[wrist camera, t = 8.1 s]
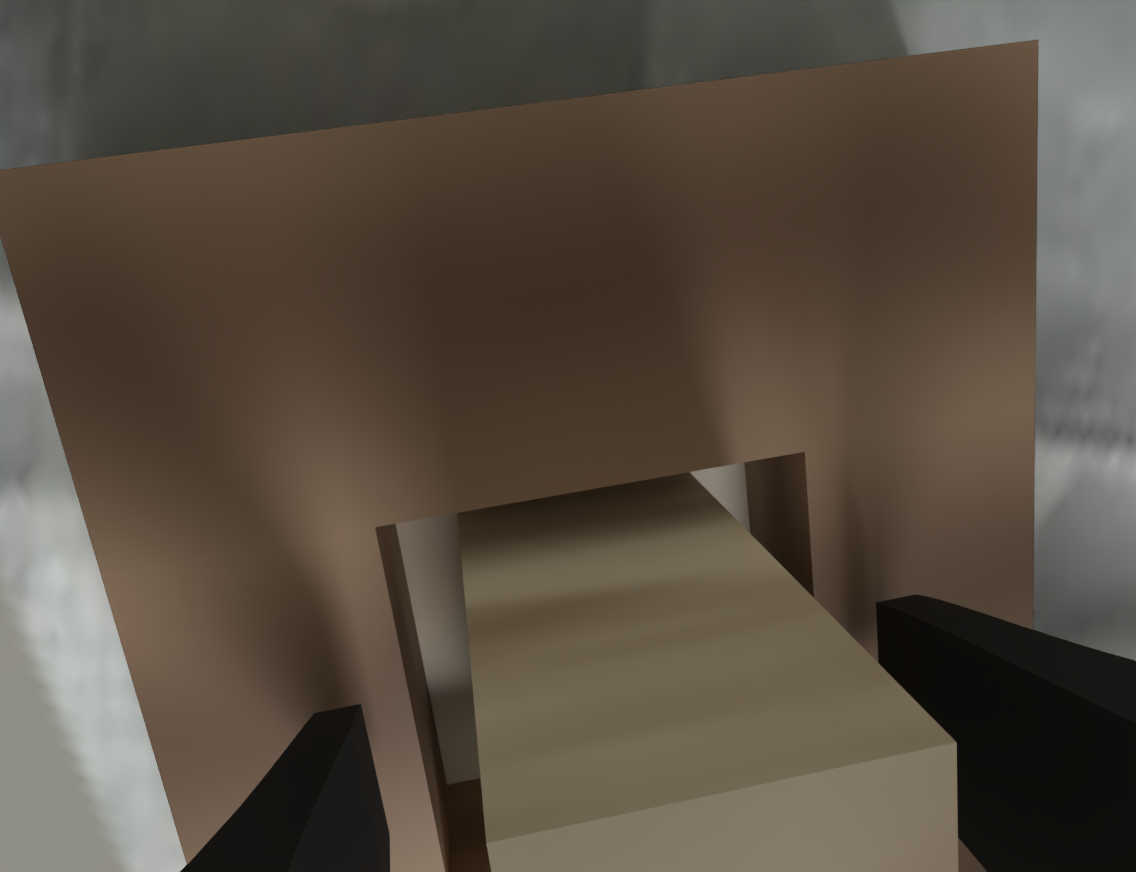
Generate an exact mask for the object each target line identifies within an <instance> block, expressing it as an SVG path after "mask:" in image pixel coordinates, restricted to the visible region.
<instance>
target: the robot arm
mask: <svg viewBox="0 0 1136 872" xmlns="http://www.w3.org/2000/svg"><path fill="white" fill-rule="evenodd" d="M876 619H877V642H878V663H879V664H880V665H881V666H882V667H883V668H884V669H885V670H886V671H887V672H888V673H889V674H890V675H891V676H892V677H893V678H894V680H895V681H896V682H897V683H898V684H899V685H900V686H901V687H902V688H903V689H904V690H905V691H906V692H907V693H908V694H909V695H910V696H911V697H912V698H913V699H914V700H915V701H916V702H917V703H918V704H919V705H920V706H921V707H922V708H923V709H924V710H925V711H926V712H927V713H928V714H929V715H930V716H931V717H932V718H933V719H934V720H935V721H936V722H937V723H938V724H939V725H940V726H941V727H942V728H943V729H944V730H945V731H946V732H947V733H948V734H949V735H950V736H951V737H952V738H953V739H954V740H955V741H956V742H957V809H958V838H959V839H960V840H961V841H962V843H963V844H964V845H965V846H966V847H967V848H968V850H969V851H970V852H971V853H972V854H973V856H974V857H975V858H976V859H977V860H978V861H979V863H980V864H981V865H982V866H983V867H984V869H985V870H986V871H987V872H1136V661H1134V660H1131V659H1127V658H1123V657H1120V656H1116V655H1113V654H1109V653H1106V652H1102V651H1099V650H1095V649H1092V648H1089V647H1085V646H1082V645H1079V644H1076V643H1072V642H1069V641H1066V640H1063V639H1060V638H1057V637H1053V636H1050V635H1047V634H1044V633H1041V632H1038V631H1035V630H1032V629H1029V628H1026V627H1023V626H1020V625H1017V624H1014V623H1011V622H1008V621H1005V620H1002V619H999V618H996V617H993V616H990V615H987V614H984V613H981V612H978V611H975V610H972V609H969V608H966V607H963V606H959V605H956V604H953V603H950V602H946V601H943V600H939V599H935V598H932V597H927V596H923V595H918V594H915V595H910V596H905V597H900V598H895V599H890V600H885V601H880V602H876ZM180 872H390V833H389V829H388V824H387V820H386V815H385V811H384V806H383V801H382V797H381V792H380V788H379V783H378V779H377V774H376V770H375V765H374V761H373V756H372V752H371V747H370V743H369V738H368V734H367V729H366V725H365V720H364V715H363V711H362V706H361V704H358V705H353V706H348V707H343V708H338V709H333V710H328V711H323V712H318V713H314V714H313V715H312V717H311V718H310V719H309V720H308V721H307V723H306V724H305V725H304V726H303V728H302V729H301V730H300V732H299V733H298V734H297V735H296V737H295V738H294V739H293V741H292V742H291V743H290V744H289V746H288V747H287V748H286V750H285V751H284V752H283V753H282V755H281V756H280V757H279V759H278V760H277V761H276V762H275V764H274V765H273V766H272V767H271V769H270V770H269V771H268V773H267V774H266V775H265V776H264V777H263V779H262V780H261V781H260V782H259V784H258V785H257V786H256V787H255V789H254V790H253V791H252V792H251V794H250V795H249V796H248V797H247V798H246V800H245V801H244V802H243V803H242V805H241V806H240V807H239V808H238V809H237V810H236V811H235V812H234V814H233V815H232V816H231V817H230V818H229V819H228V820H227V821H226V822H225V824H224V825H223V826H222V827H221V828H220V829H219V830H218V831H217V832H216V834H215V835H214V836H213V837H212V838H211V839H210V840H209V841H208V842H207V844H206V845H205V846H204V847H203V848H202V849H201V850H200V851H199V852H198V854H197V855H196V856H195V857H194V858H193V859H192V860H191V861H190V862H189V863H188V864H187V865H186V866H185V867H184V868H183V869H182V870H181V871H180Z"/></svg>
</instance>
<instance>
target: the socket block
mask: <svg viewBox="0 0 1136 872" xmlns="http://www.w3.org/2000/svg"><path fill="white" fill-rule="evenodd" d="M1037 134H1038V40H1032V41H1024V42H1016V43H1008V44H1000V45H992V46H984V47H976V48H968V49H960V50H952V51H944V52H936V53H928V54H920V55H912V56H904V57H896V58H888V59H880V60H872V61H864V62H856V63H848V64H841V65H833V66H825V67H817V68H809V69H801V70H793V71H785V72H777V73H769V74H761V75H753V76H745V77H737V78H729V79H721V80H713V81H705V82H697V83H689V84H681V85H673V86H665V87H657V88H649V89H641V90H633V91H625V92H617V93H609V94H602V95H594V96H586V97H578V98H570V99H562V100H554V101H546V102H538V103H530V104H522V105H514V106H506V107H498V108H490V109H482V110H474V111H466V112H458V113H450V114H442V115H434V116H426V117H418V118H410V119H402V120H394V121H386V122H378V123H370V124H363V125H355V126H347V127H339V128H331V129H323V130H315V131H307V132H299V133H291V134H283V135H275V136H267V137H259V138H251V139H243V140H235V141H227V142H219V143H211V144H203V145H195V146H187V147H179V148H171V149H163V150H155V151H147V152H139V153H131V154H123V155H116V156H108V157H100V158H92V159H84V160H76V161H68V162H60V163H52V164H44V165H36V166H28V167H20V168H12V169H4V170H0V236H1V240H2V243H3V247H4V250H5V253H6V257H7V260H8V263H9V267H10V270H11V273H12V277H13V280H14V284H15V287H16V290H17V294H18V297H19V300H20V304H21V307H22V311H23V314H24V317H25V321H26V324H27V327H28V331H29V334H30V337H31V341H32V344H33V348H34V351H35V354H36V358H37V361H38V364H39V368H40V371H41V375H42V378H43V381H44V385H45V388H46V391H47V395H48V398H49V401H50V405H51V408H52V412H53V415H54V418H55V422H56V425H57V428H58V432H59V435H60V439H61V442H62V445H63V449H64V452H65V455H66V459H67V462H68V465H69V469H70V472H71V476H72V479H73V482H74V486H75V489H76V492H77V496H78V499H79V503H80V506H81V509H82V513H83V516H84V519H85V523H86V526H87V529H88V533H89V536H90V540H91V543H92V546H93V550H94V553H95V556H96V560H97V563H98V567H99V570H100V573H101V577H102V580H103V583H104V587H105V590H106V593H107V597H108V600H109V604H110V607H111V610H112V614H113V617H114V620H115V624H116V627H117V631H118V634H119V637H120V641H121V644H122V647H123V651H124V654H125V657H126V661H127V664H128V668H129V671H130V674H131V678H132V681H133V684H134V688H135V691H136V695H137V698H138V701H139V705H140V708H141V711H142V715H143V718H144V721H145V725H146V728H147V732H148V735H149V738H150V742H151V745H152V748H153V752H154V755H155V759H156V762H157V765H158V769H159V772H160V775H161V779H162V782H163V786H164V789H165V792H166V796H167V799H168V802H169V806H170V809H171V812H172V816H173V819H174V823H175V826H176V829H177V833H178V836H179V839H180V843H181V846H182V849H183V853H184V856H185V860H186V863H187V864H188V863H189V862H190V861H191V860H192V859H193V858H194V857H195V856H196V855H197V854H198V852H199V851H200V850H201V849H202V848H203V847H204V846H205V845H206V844H207V842H208V841H209V840H210V839H211V838H212V837H213V836H214V835H215V834H216V832H217V831H218V830H219V829H220V828H221V827H222V826H223V825H224V824H225V822H226V821H227V820H228V819H229V818H230V817H231V816H232V815H233V814H234V812H235V811H236V810H237V809H238V808H239V807H240V806H241V805H242V803H243V802H244V801H245V800H246V798H247V797H248V796H249V795H250V794H251V792H252V791H253V790H254V789H255V787H256V786H257V785H258V784H259V782H260V781H261V780H262V779H263V777H264V776H265V775H266V774H267V773H268V771H269V770H270V769H271V767H272V766H273V765H274V764H275V762H276V761H277V760H278V759H279V757H280V756H281V755H282V753H283V752H284V751H285V750H286V748H287V747H288V746H289V744H290V743H291V742H292V741H293V739H294V738H295V737H296V735H297V734H298V733H299V732H300V730H301V729H302V728H303V726H304V725H305V724H306V723H307V721H308V720H309V719H310V718H311V717H312V715H313V714H314V713H318V712H323V711H328V710H333V709H338V708H343V707H348V706H353V705H358V704H361V706H362V711H363V715H364V720H365V725H366V729H367V734H368V738H369V743H370V747H371V752H372V756H373V761H374V765H375V770H376V774H377V779H378V783H379V788H380V792H381V797H382V801H383V806H384V811H385V815H386V820H387V824H388V829H389V833H390V872H491V867H490V861H489V856H488V850H487V845H486V835H485V823H484V812H483V800H482V789H481V777H480V766H479V755H478V743H477V732H476V720H475V709H474V698H473V686H472V675H471V663H470V652H469V641H468V629H467V618H466V606H465V595H464V583H463V572H462V561H461V549H460V538H459V526H458V515H457V513H459V512H465V511H470V510H476V509H482V508H487V507H493V506H499V505H504V504H510V503H516V502H521V501H527V500H533V499H538V498H544V497H550V496H556V495H561V494H567V493H573V492H579V491H584V490H590V489H596V488H602V487H608V486H613V485H619V484H625V483H631V482H637V481H642V480H648V479H654V478H660V477H666V476H672V475H677V474H683V473H689V472H690V473H691V474H692V475H693V476H694V477H695V478H696V479H697V480H698V481H699V482H700V483H701V484H702V485H703V486H704V487H705V488H706V489H707V490H708V491H709V492H710V493H711V494H712V495H713V496H714V497H715V498H716V499H717V500H718V501H719V502H720V503H721V504H722V505H723V506H724V508H725V509H726V510H727V511H728V512H729V513H730V514H731V515H732V516H733V517H734V518H735V519H736V520H737V521H738V522H739V523H740V524H741V525H742V526H743V527H744V528H745V529H746V530H747V531H748V532H749V533H750V534H751V535H752V536H753V537H754V538H755V539H756V540H757V541H758V542H759V543H760V544H761V545H762V546H763V547H764V548H765V549H766V550H767V551H768V552H769V553H770V554H771V555H772V556H773V557H774V558H775V559H776V560H777V561H778V562H779V563H780V564H781V565H782V566H783V567H784V568H785V569H786V570H787V571H788V572H789V573H790V574H791V575H792V576H793V577H794V578H795V579H796V580H797V581H798V582H799V583H800V584H801V585H802V586H803V587H804V588H805V589H806V590H807V591H808V592H809V594H810V595H811V596H812V597H813V598H814V599H815V600H816V601H817V602H818V603H819V604H820V605H821V606H822V607H823V608H824V609H825V610H826V611H827V612H828V613H829V614H830V615H831V616H832V617H833V618H834V619H835V620H836V621H837V622H838V623H839V624H840V625H841V626H842V627H843V628H844V629H845V630H846V631H847V632H848V633H849V634H850V635H851V636H852V637H853V638H854V639H855V640H856V641H857V642H858V643H859V644H860V645H861V646H862V647H863V648H864V649H865V650H866V651H867V652H868V653H869V654H870V655H871V656H872V657H873V658H874V659H875V660H876V661H877V662H878V642H877V619H876V602H880V601H885V600H890V599H895V598H900V597H905V596H910V595H915V594H918V595H923V596H927V597H932V598H935V599H939V600H943V601H946V602H950V603H953V604H956V605H959V606H963V607H966V608H969V609H972V610H975V611H978V612H981V613H984V614H987V615H990V616H993V617H996V618H999V619H1002V620H1005V621H1008V622H1011V623H1014V624H1017V625H1020V626H1023V627H1026V628H1029V629H1032V630H1033V571H1034V461H1035V352H1036V243H1037ZM958 872H987V871H986V870H985V869H984V867H983V866H982V865H981V864H980V863H979V861H978V860H977V859H976V858H975V857H974V856H973V854H972V853H971V852H970V851H969V850H968V848H967V847H966V846H965V845H964V844H963V843H962V841H961V840H960V839H959V838H958Z"/></svg>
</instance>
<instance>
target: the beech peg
mask: <svg viewBox="0 0 1136 872" xmlns="http://www.w3.org/2000/svg"><path fill="white" fill-rule="evenodd" d="M457 515H458V526H459V538H460V549H461V561H462V572H463V583H464V595H465V606H466V618H467V629H468V641H469V652H470V663H471V675H472V686H473V698H474V709H475V720H476V732H477V743H478V755H479V766H480V777H481V789H482V800H483V812H484V823H485V835H486V845H487V850H488V856H489V861H490V867H491V872H958V809H957V742H956V741H955V740H954V739H953V738H952V737H951V736H950V735H949V734H948V733H947V732H946V731H945V730H944V729H943V728H942V727H941V726H940V725H939V724H938V723H937V722H936V721H935V720H934V719H933V718H932V717H931V716H930V715H929V714H928V713H927V712H926V711H925V710H924V709H923V708H922V707H921V706H920V705H919V704H918V703H917V702H916V701H915V700H914V699H913V698H912V697H911V696H910V695H909V694H908V693H907V692H906V691H905V690H904V689H903V688H902V687H901V686H900V685H899V684H898V683H897V682H896V681H895V680H894V678H893V677H892V676H891V675H890V674H889V673H888V672H887V671H886V670H885V669H884V668H883V667H882V666H881V665H880V664H879V663H878V662H877V661H876V660H875V659H874V658H873V657H872V656H871V655H870V654H869V653H868V652H867V651H866V650H865V649H864V648H863V647H862V646H861V645H860V644H859V643H858V642H857V641H856V640H855V639H854V638H853V637H852V636H851V635H850V634H849V633H848V632H847V631H846V630H845V629H844V628H843V627H842V626H841V625H840V624H839V623H838V622H837V621H836V620H835V619H834V618H833V617H832V616H831V615H830V614H829V613H828V612H827V611H826V610H825V609H824V608H823V607H822V606H821V605H820V604H819V603H818V602H817V601H816V600H815V599H814V598H813V597H812V596H811V595H810V594H809V592H808V591H807V590H806V589H805V588H804V587H803V586H802V585H801V584H800V583H799V582H798V581H797V580H796V579H795V578H794V577H793V576H792V575H791V574H790V573H789V572H788V571H787V570H786V569H785V568H784V567H783V566H782V565H781V564H780V563H779V562H778V561H777V560H776V559H775V558H774V557H773V556H772V555H771V554H770V553H769V552H768V551H767V550H766V549H765V548H764V547H763V546H762V545H761V544H760V543H759V542H758V541H757V540H756V539H755V538H754V537H753V536H752V535H751V534H750V533H749V532H748V531H747V530H746V529H745V528H744V527H743V526H742V525H741V524H740V523H739V522H738V521H737V520H736V519H735V518H734V517H733V516H732V515H731V514H730V513H729V512H728V511H727V510H726V509H725V508H724V506H723V505H722V504H721V503H720V502H719V501H718V500H717V499H716V498H715V497H714V496H713V495H712V494H711V493H710V492H709V491H708V490H707V489H706V488H705V487H704V486H703V485H702V484H701V483H700V482H699V481H698V480H697V479H696V478H695V477H694V476H693V475H692V474H691V473H690V472H689V473H683V474H677V475H672V476H666V477H660V478H654V479H648V480H642V481H637V482H631V483H625V484H619V485H613V486H608V487H602V488H596V489H590V490H584V491H579V492H573V493H567V494H561V495H556V496H550V497H544V498H538V499H533V500H527V501H521V502H516V503H510V504H504V505H499V506H493V507H487V508H482V509H476V510H470V511H465V512H459V513H457Z"/></svg>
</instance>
